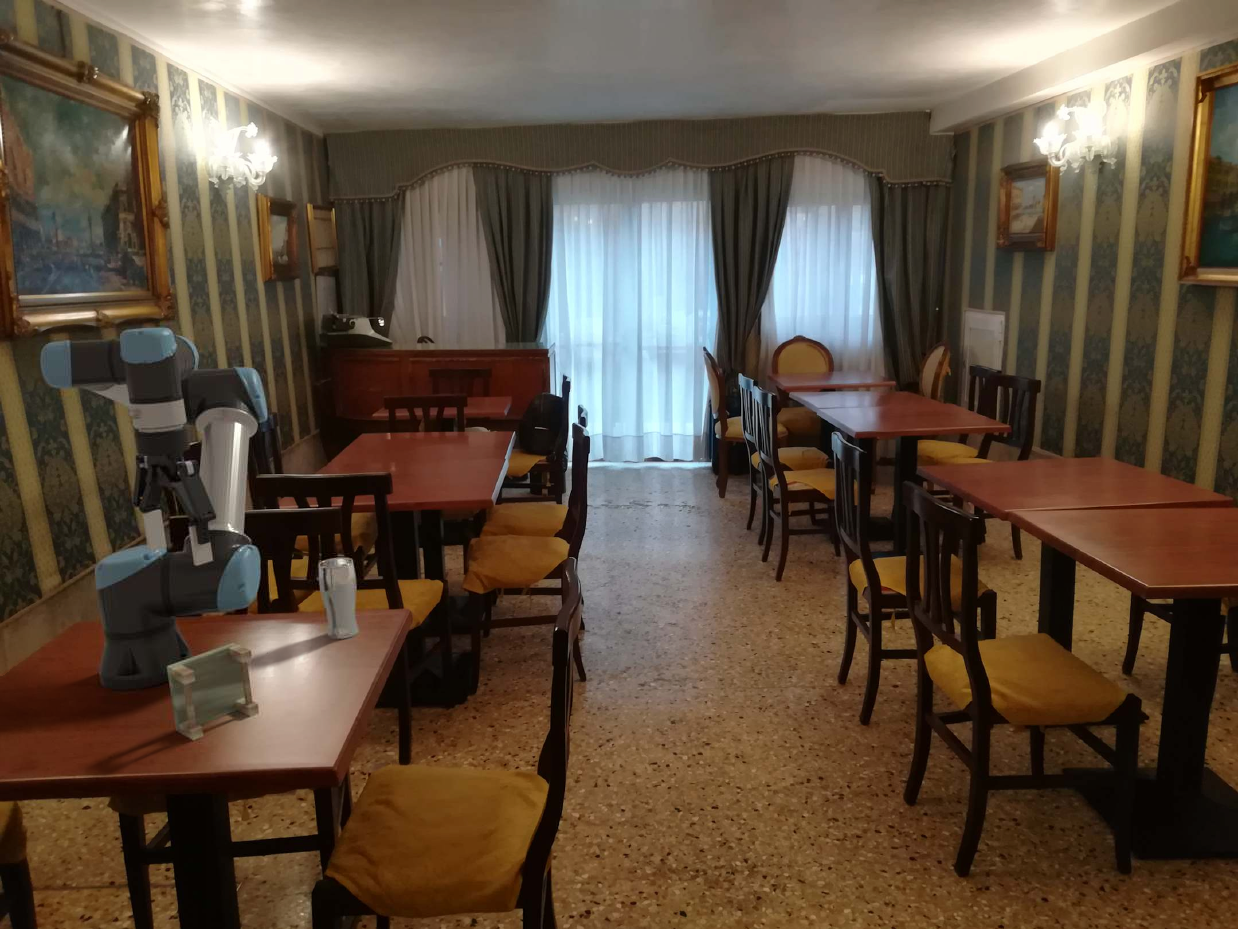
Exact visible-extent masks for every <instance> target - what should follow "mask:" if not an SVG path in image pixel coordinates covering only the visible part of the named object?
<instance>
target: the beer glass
mask: <svg viewBox="0 0 1238 929" xmlns="http://www.w3.org/2000/svg"><path fill="white" fill-rule="evenodd" d="M318 582H319V590H320V595H321V600H322V602H323V605H324V608H325V612H326V616H327V638H329V639H331V640H345V639H349V638H352V637H355V636H356V635H358V634H359V632H360V628H359V626H358V622H357V618H356V601H357V576H356V571H355V566H354V559H353V558H349V557H334V558H329V559H328V558H327V559H324V560H323V561H320V562H319V563H318Z"/></svg>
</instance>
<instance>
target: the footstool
mask: <svg viewBox="0 0 1238 929" xmlns="http://www.w3.org/2000/svg"><path fill="white" fill-rule="evenodd" d="M250 661H253V657H252V650H251V649H249V648H247V647H244V646H242V645H239V644H237V643H235V642H232V643H229V644H226V645H223V646H221V647H218V648H215V649H212V650H209V651H206V652H204V653H201V654H197V655H196V656H195V655H194V656H192V658H189V659H186V660H183V661H181V662H178V663H175V664H172V665H169V666H167V671H168V678H169V681H168V683H169V690H170V697H171V702H172V703H171V704H172V710H173V715H174V724H175V729H176V732H178V733H179V734H182V736H185V737H187V738H188V739H190V740H191V741H195V740H198V739H200V738H203V737H204V732H203V727H202V725H204V724H207V723H210V722H211V721H214V720H216V719H217V720H218V719H219V718H221V717H224V716H226V715H229V714H231V713H233V712H235V711H239V712H241V713H243V714H244V715H246V716H248V717H252V716H255V715H257V714H259V713H260V710H259V704H258V702H255V701H254V700H253V695H252V688H251V687H252V686H251V680H250V673H249V666H248V664H249V663H248V662H250Z"/></svg>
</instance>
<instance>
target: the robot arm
mask: <svg viewBox="0 0 1238 929" xmlns="http://www.w3.org/2000/svg"><path fill="white" fill-rule="evenodd" d="M199 358H200V357H199V352H198V349H197V348H196V345H195V344H194V343H192V341H191V340H189V339H188V338H186V337H185V336H182V335H177V334H174V332H173V331H172V329H170V328H168V327H143V328H133V329H132V328H131V329H126V330H123V331H122V332H121V333H120V335H119V338H113V339H91V340H90V339H86V340H85V339H83V340H69V339H67V340H63V341H54V342H48V343H47V344H45V345H44V346H43V347H42V350H41V352H40V369H41V373H42V374H41V375H42V377H43V378H44V380H45V382H46V384H48V386H50V387H52V388H55V389H68V390H71V389H74V388H82V389H86V390H88V391H91V392H93V393H96V394H98V395H101V396H103V397H105V398H107V399H110V400H112V401H115V402H118V403H121V404H122V405H124V406H125V408H127V409H128V410H129V416H130V417H131V419H132V426H133V428H135V429H136V431H135V433H133V434H134V439H135V446H136V452H137V454H136V455H135V465H136V469H135V479H134V487H133V488H134V489H133V495H132V506H133V507H134V508H138V510H139V512H140V513H142V520H143V524H144V531H145V538H146V544H143V545H142V544H141V545H137V546H133V547H129V548H126V549H122V550H119V551H118V552H114V553H111V554H109V555H108V556H106V557H104V558H103V559H100V560H99V561H98V562H97V564H96V565H95V567H94V577H95V578H94V579H95V587H94V589H95V590H96V594H97V595H96V596H97V600H98V607H99V611H100V617H101V624H102V629H103V636H104V645H103V650H102V653H101V654H102V655H101V659H100V665H99V668H98V670H99V671H98V674H99V679H100V684H101V685H102V686H103V687H104V688H107V689H110V690H116V691H117V690H119V691H129V690H138V689H144V688H148V687H153V686H157V685H160V684H164V683H167V682H169V678H168V671H167V666H169V665H172V664H175V663H178V662H181V661H183V660H186V659H189V658H192V657H193V655H192V652H191V648H190V647H189V645H188V644H187V642H186V640H185V638H184V636H183V634H182V632H181V631H180V629H179V628H178V626H177V619H176V617H178V616H179V617H180V616H189V615H190V616H191V615H201V614H210V613H212V614H214V613H227V612H230V611H235V610H243V609H246V608H247V607H249V606H250V605H251V604H252V603H253V602H254V601H255V598H256V596H257V593H258V591H259V587H260V582H261V573H262V572H261V556H260V552H259V549H258V547H257V546H255V545H252V539H251V538H249V536H247V535H246V534H245V533H244V530H245V514H246V512H245V511H246V497H247V496H246V495H247V480H248V478H247V477H248V476H247V475H248V464H249V463H248V462H249V446H250V445H249V444H250V438H251V437H253V436H254V435H256V433H257V431H258V425H259V424H258V423H263V422H266V421H267V420H268V408H267V406H268V405H267V401H266V396H265V392H264V386H263V384H262V380H261V376H260V375H259V373H258V371H257V370H256V369H254V368H252V367H249V366H248V367H247V366H246V367H244V366H243V367H242V366H241V367H237V366H233V367H230V368H229V367H228V368H225V367H224V368H205V369H197V367H198V364H199V361H200V360H199ZM187 427H196V429H197V431H198V432H199V433H200V434H201V435H202V442H201V454H200V465H199V466H198V462H197V460H195V459H192V460H187V461H185V458H184V455H183V454H184V453H185V452H186V451H189V449H190V448H191V443H190V437H189V430H188V428H187ZM165 487H166V488H167V489H168V491H170V492H173V494H174V495H175V497H176V498H177V500H178V501H179V503H180V506H182V509H183V510H184V512H185V515H187V517H188V519H189V522H188V524H187V526H188V532H189V535H187V536H186V537H185V539H184V542H183V550H182V551H174V552H168V549H167V548H168V547H167V540H166V533H165V527H164V521H163V513H162V506H161V504H160V501H161V498H162V495H163V494H164V493H163V492H164V490H165ZM160 508H161V509H160Z"/></svg>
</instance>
